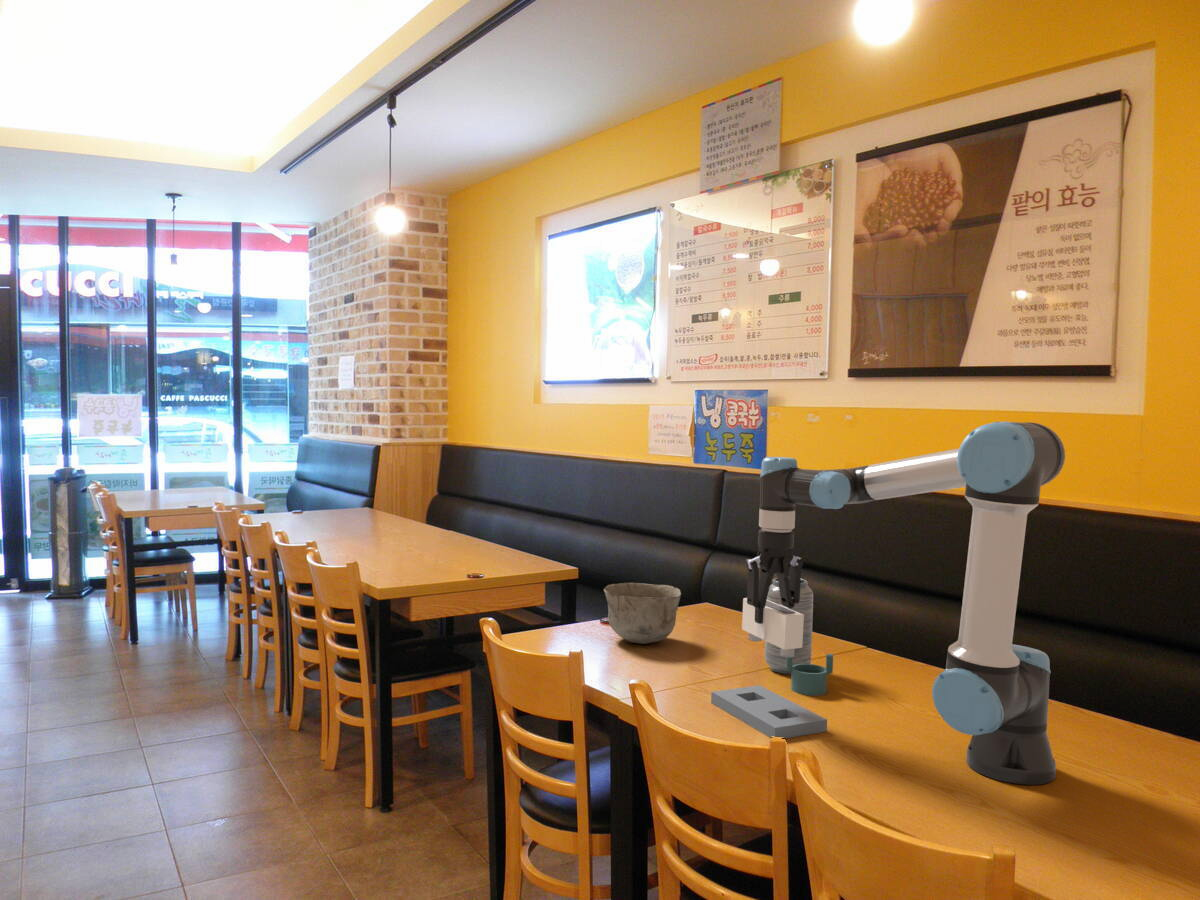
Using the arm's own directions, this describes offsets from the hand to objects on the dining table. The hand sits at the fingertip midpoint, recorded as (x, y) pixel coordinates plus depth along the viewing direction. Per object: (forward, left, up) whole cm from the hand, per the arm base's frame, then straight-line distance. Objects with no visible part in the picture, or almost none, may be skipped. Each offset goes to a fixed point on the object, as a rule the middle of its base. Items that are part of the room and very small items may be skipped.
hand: (771, 636), depth 189 cm
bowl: (+64, -2, -17) cm, 66 cm away
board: (0, +1, -17) cm, 17 cm away
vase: (+27, -25, -17) cm, 41 cm away
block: (0, 0, -2) cm, 2 cm away
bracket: (+12, -20, -18) cm, 29 cm away
